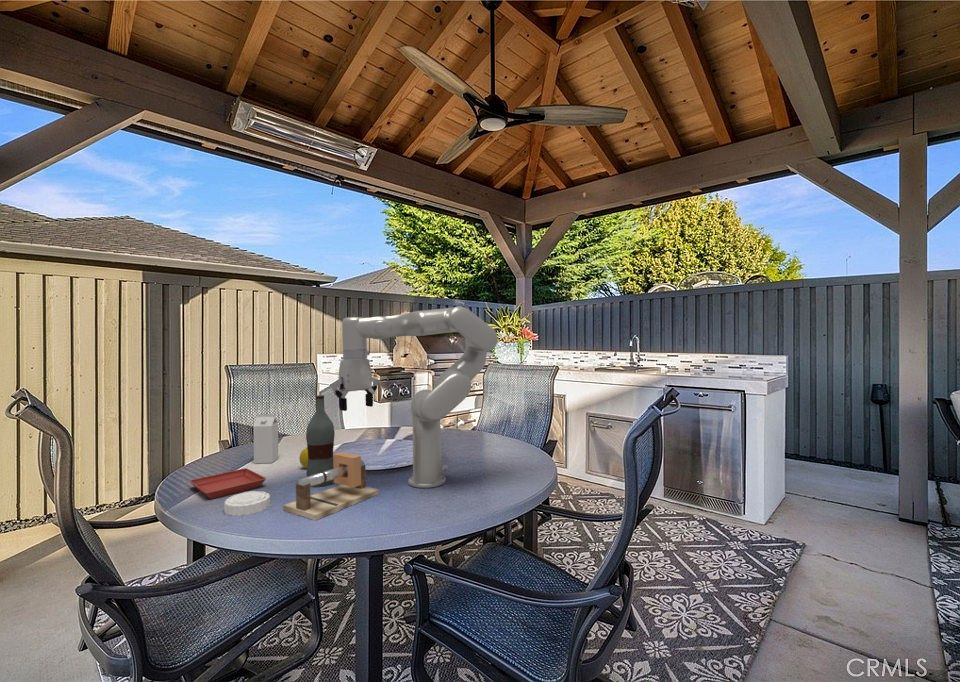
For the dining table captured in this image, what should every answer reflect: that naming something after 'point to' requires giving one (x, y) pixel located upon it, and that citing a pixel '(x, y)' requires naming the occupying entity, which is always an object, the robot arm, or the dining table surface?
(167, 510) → the dining table surface
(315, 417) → the bottle
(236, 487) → the plant saucer
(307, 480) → the pipe
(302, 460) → the lemon
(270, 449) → the milk carton
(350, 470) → the collar
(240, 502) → the mooncake
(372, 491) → the pipe stand
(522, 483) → the dining table surface
